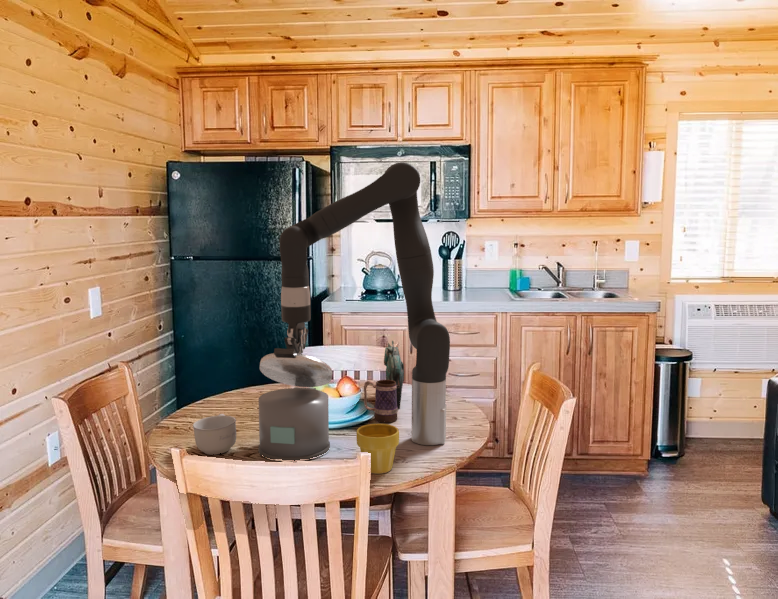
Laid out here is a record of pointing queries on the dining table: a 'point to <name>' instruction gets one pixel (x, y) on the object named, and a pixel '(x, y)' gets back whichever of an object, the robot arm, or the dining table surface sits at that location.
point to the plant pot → (379, 445)
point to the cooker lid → (295, 368)
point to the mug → (383, 400)
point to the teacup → (215, 434)
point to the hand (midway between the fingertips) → (297, 367)
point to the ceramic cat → (394, 369)
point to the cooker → (293, 423)
